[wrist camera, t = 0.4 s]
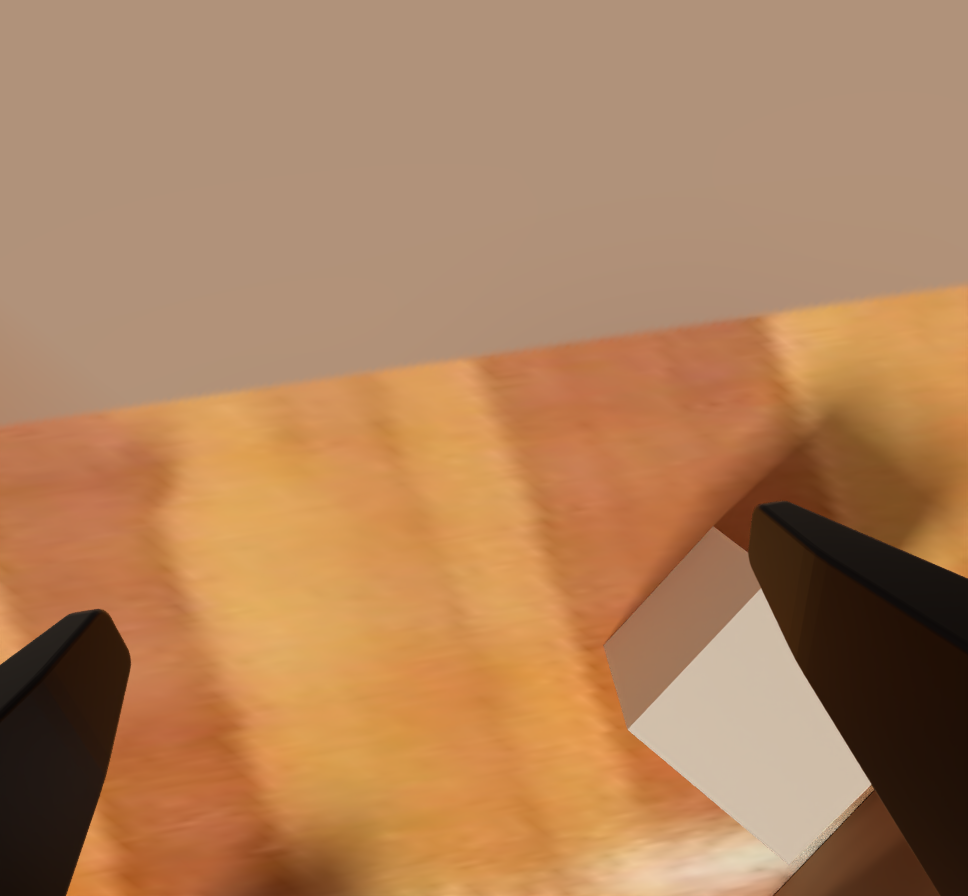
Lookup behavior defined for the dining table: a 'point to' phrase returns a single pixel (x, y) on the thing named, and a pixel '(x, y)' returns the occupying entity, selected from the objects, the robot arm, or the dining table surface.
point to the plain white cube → (732, 701)
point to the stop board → (862, 860)
